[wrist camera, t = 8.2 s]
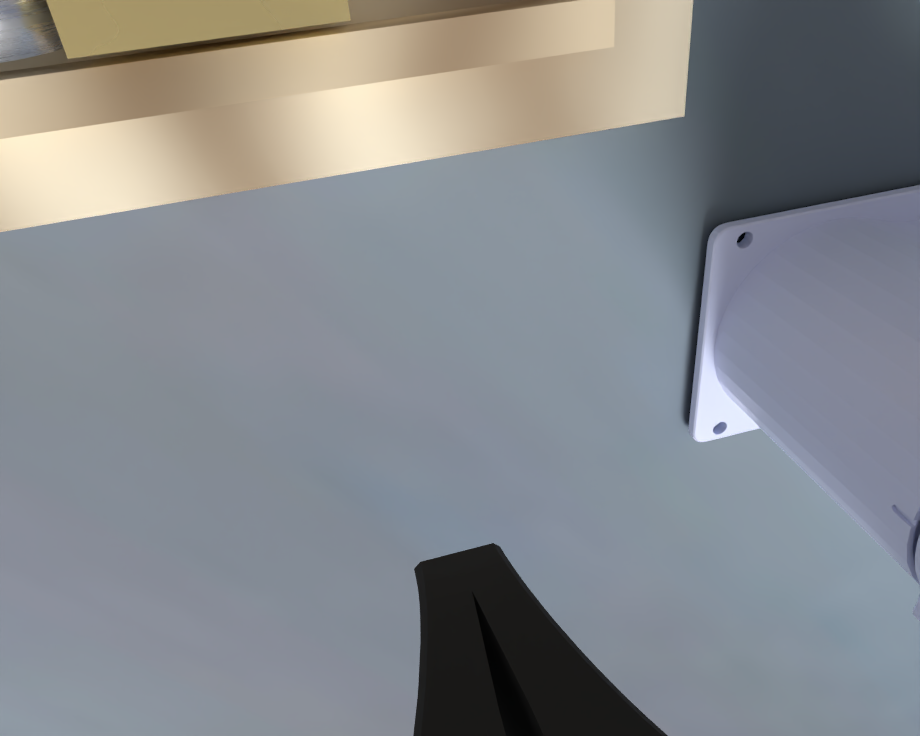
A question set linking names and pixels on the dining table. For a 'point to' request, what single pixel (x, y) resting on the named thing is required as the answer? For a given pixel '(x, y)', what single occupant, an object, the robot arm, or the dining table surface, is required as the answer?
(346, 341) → the dining table surface
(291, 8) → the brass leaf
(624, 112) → the jig board
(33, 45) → the panel
